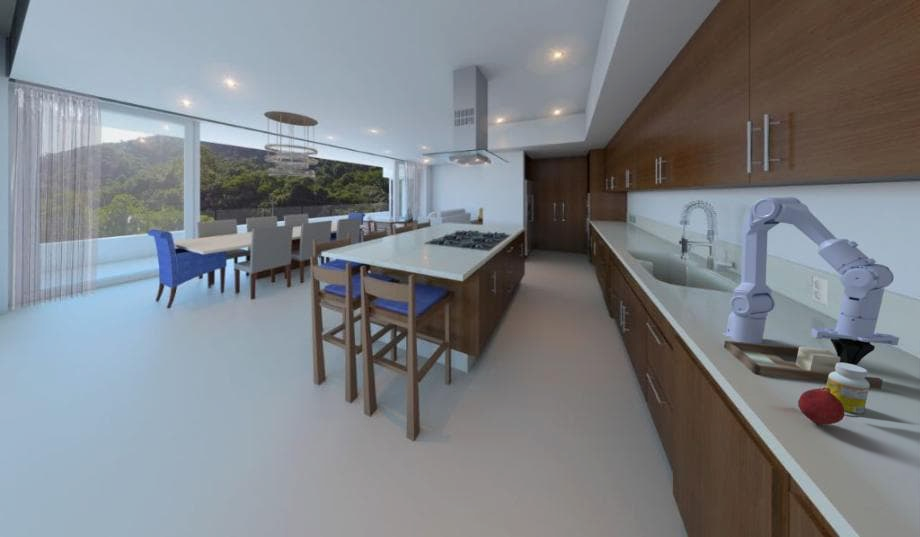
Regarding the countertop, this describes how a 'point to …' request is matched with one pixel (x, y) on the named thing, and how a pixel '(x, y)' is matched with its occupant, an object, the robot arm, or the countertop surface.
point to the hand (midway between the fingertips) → (845, 368)
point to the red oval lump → (821, 406)
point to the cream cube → (816, 359)
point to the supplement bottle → (849, 387)
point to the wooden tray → (779, 362)
